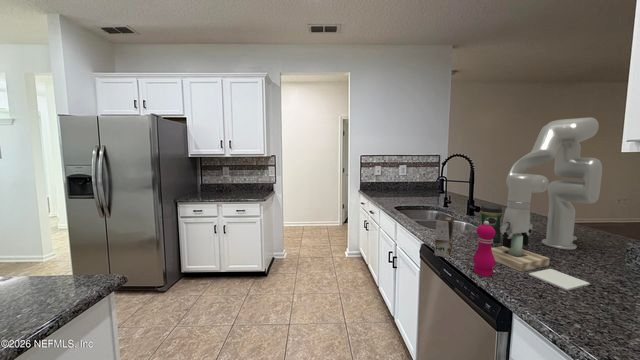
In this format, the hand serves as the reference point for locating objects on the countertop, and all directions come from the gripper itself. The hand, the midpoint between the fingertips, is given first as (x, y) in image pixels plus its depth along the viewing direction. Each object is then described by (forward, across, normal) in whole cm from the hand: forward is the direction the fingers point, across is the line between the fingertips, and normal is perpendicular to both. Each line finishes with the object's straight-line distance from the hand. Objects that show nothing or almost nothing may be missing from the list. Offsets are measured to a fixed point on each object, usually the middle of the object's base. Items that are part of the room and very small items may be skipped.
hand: (515, 245), depth 111 cm
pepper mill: (+7, +22, +4) cm, 23 cm away
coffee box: (+7, +22, -16) cm, 28 cm away
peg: (+6, 0, 0) cm, 6 cm away
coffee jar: (+6, -14, -23) cm, 28 cm away
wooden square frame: (+6, 0, 0) cm, 6 cm away
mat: (+6, +2, +17) cm, 18 cm away
